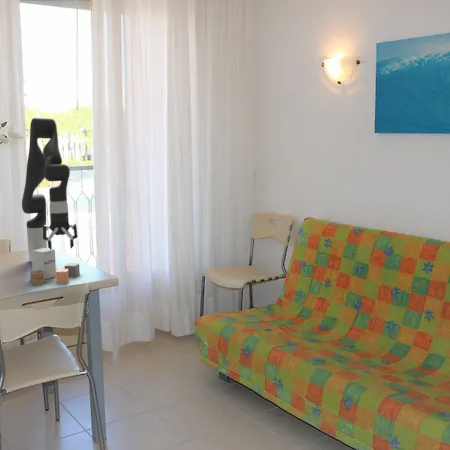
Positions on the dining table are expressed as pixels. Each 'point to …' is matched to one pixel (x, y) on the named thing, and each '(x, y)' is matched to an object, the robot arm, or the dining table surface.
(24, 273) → the dining table surface
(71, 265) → the charcoal cube
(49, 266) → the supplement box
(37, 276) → the walnut cube
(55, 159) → the robot arm
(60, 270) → the terracotta cube
